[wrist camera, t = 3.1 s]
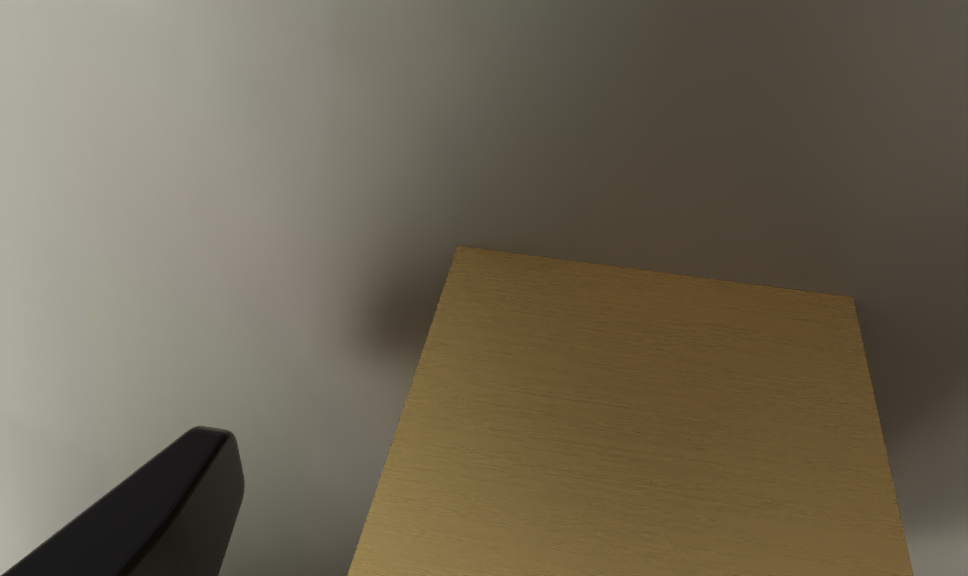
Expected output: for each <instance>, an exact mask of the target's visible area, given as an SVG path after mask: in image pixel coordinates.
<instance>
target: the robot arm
mask: <svg viewBox="0 0 968 576" xmlns="http://www.w3.org/2000/svg"><path fill="white" fill-rule="evenodd" d="M243 494H244V475H243V470H242V465H241V460H240V455H239V450H238V445H237V441H236V438H235V435H234V434H233V433H232V432H231V431H228V430H224V429H218V428H212V427H205V426H197V427H194V428H192V429H190V430H189V431H187V432H186V433H184V434H183V435H182V436H181V437H179V438H178V439H177V440H175V441H174V442H173V443H172V444H170V445H169V446H168V447H166V448H165V449H164V450H163V451H161V452H160V453H159V454H157V455H156V456H155V457H153V458H152V459H151V460H150V461H148V462H147V463H146V464H144V465H143V466H142V467H141V468H139V469H138V470H137V471H135V472H134V473H133V474H132V475H130V476H129V477H128V478H126V479H125V480H124V481H122V482H121V483H120V484H119V485H117V486H116V487H115V488H113V489H112V490H111V491H110V492H108V493H107V494H106V495H104V496H103V497H102V498H100V499H99V500H98V501H97V502H95V503H94V504H93V505H91V506H90V507H89V508H88V509H86V510H85V511H84V512H82V513H81V514H80V515H79V516H77V517H76V518H75V519H73V520H72V521H71V522H69V523H68V524H67V525H66V526H64V527H63V528H62V529H60V530H59V531H58V532H57V533H55V534H54V535H53V536H51V537H50V538H49V539H48V540H46V541H45V542H44V543H42V544H41V545H40V546H38V547H37V548H36V549H35V550H33V551H32V552H31V553H29V554H28V555H27V556H26V557H24V558H23V559H22V560H20V561H19V562H18V563H17V564H15V565H14V566H13V567H11V568H10V569H9V570H7V571H6V572H5V573H4V574H2V575H1V576H218V575H219V572H220V568H221V565H222V562H223V559H224V556H225V553H226V550H227V547H228V543H229V540H230V537H231V534H232V531H233V528H234V525H235V521H236V518H237V515H238V512H239V509H240V506H241V503H242V499H243Z"/></svg>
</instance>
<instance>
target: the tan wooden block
mask: <svg viewBox="0 0 968 576" xmlns="http://www.w3.org/2000/svg"><path fill="white" fill-rule="evenodd" d="M347 576H913V572H912V568H911V563H910V558H909V554H908V549H907V544H906V540H905V535H904V530H903V526H902V521H901V517H900V512H899V507H898V503H897V498H896V493H895V489H894V484H893V479H892V475H891V470H890V466H889V461H888V456H887V452H886V447H885V442H884V438H883V433H882V429H881V424H880V419H879V415H878V410H877V405H876V401H875V396H874V391H873V387H872V382H871V378H870V373H869V368H868V364H867V359H866V354H865V350H864V345H863V340H862V336H861V331H860V327H859V322H858V317H857V313H856V308H855V303H854V299H853V297H847V296H839V295H831V294H824V293H816V292H808V291H801V290H793V289H785V288H778V287H770V286H762V285H755V284H747V283H740V282H732V281H724V280H717V279H709V278H701V277H694V276H686V275H678V274H671V273H663V272H655V271H648V270H640V269H632V268H625V267H617V266H609V265H602V264H594V263H586V262H579V261H571V260H564V259H556V258H548V257H541V256H533V255H525V254H518V253H510V252H502V251H495V250H487V249H479V248H472V247H464V246H457V249H456V252H455V255H454V258H453V261H452V264H451V267H450V270H449V273H448V276H447V279H446V282H445V285H444V288H443V291H442V294H441V297H440V300H439V303H438V306H437V309H436V312H435V315H434V318H433V321H432V324H431V327H430V330H429V333H428V336H427V339H426V342H425V345H424V348H423V351H422V354H421V357H420V360H419V363H418V366H417V369H416V372H415V375H414V378H413V381H412V384H411V387H410V390H409V393H408V396H407V399H406V402H405V405H404V408H403V411H402V414H401V417H400V420H399V423H398V426H397V429H396V432H395V435H394V438H393V441H392V444H391V447H390V450H389V453H388V456H387V459H386V462H385V465H384V467H383V470H382V473H381V476H380V479H379V482H378V485H377V488H376V491H375V494H374V497H373V500H372V503H371V506H370V509H369V512H368V515H367V518H366V521H365V524H364V527H363V530H362V533H361V536H360V539H359V542H358V545H357V548H356V551H355V554H354V557H353V560H352V563H351V566H350V569H349V572H348V575H347Z"/></svg>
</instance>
